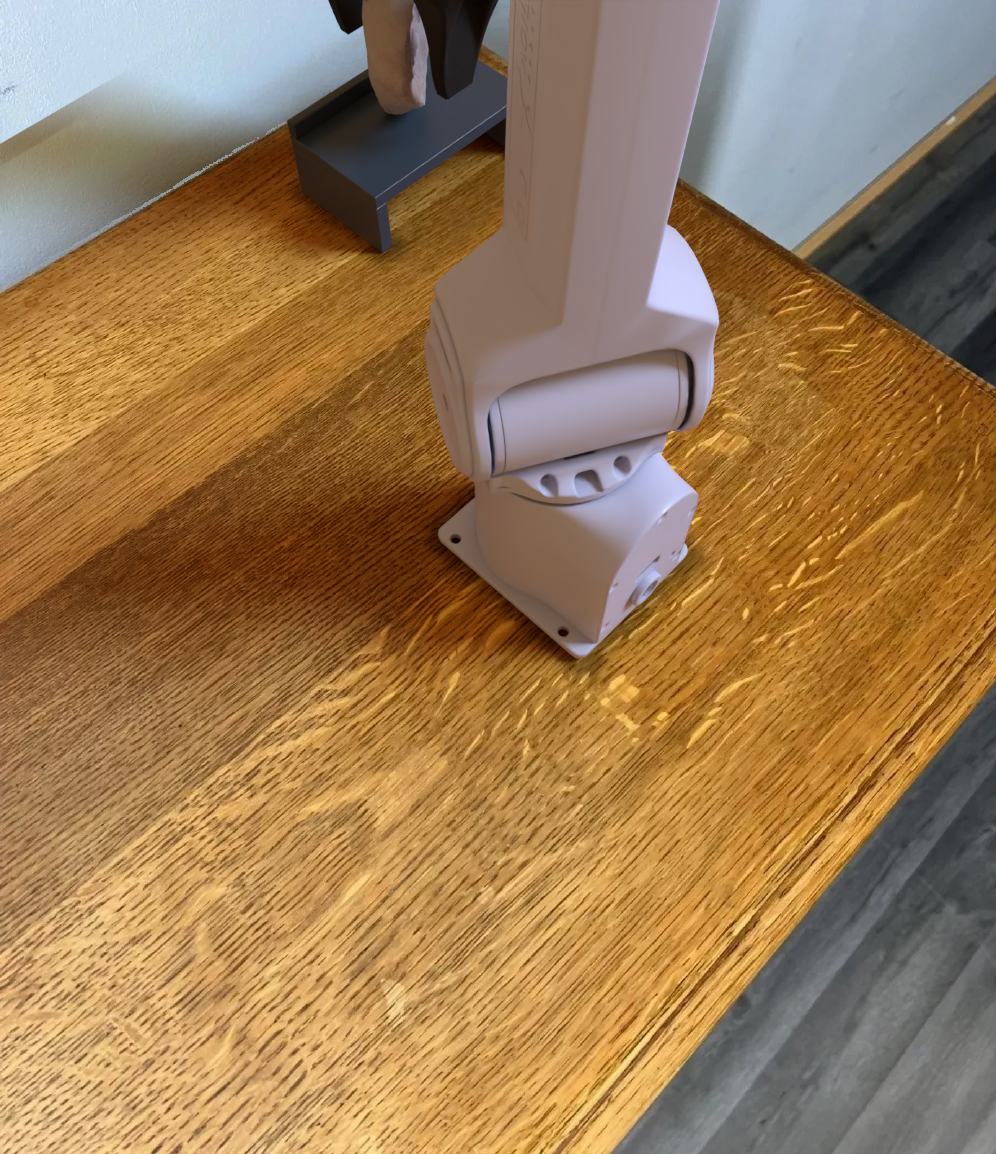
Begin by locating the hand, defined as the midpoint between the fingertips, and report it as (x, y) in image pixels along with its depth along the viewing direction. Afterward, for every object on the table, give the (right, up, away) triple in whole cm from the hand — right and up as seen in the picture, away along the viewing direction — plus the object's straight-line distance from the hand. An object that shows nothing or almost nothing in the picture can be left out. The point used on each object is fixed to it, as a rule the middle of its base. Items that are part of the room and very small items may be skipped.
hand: (405, 55), depth 54 cm
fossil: (0, -2, +3) cm, 4 cm away
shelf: (0, -3, +7) cm, 8 cm away
